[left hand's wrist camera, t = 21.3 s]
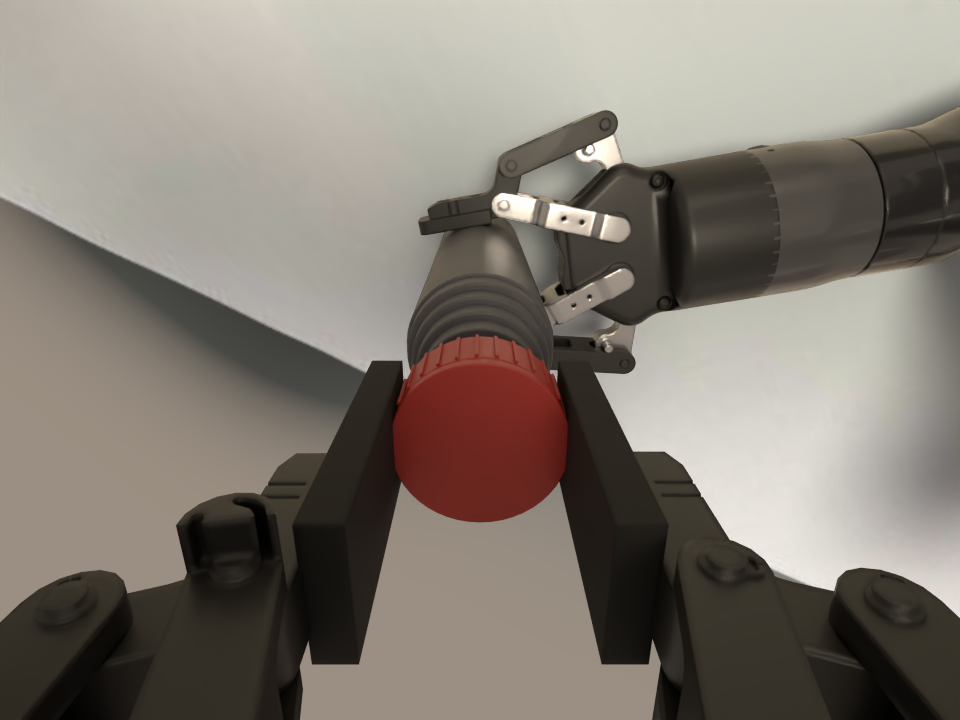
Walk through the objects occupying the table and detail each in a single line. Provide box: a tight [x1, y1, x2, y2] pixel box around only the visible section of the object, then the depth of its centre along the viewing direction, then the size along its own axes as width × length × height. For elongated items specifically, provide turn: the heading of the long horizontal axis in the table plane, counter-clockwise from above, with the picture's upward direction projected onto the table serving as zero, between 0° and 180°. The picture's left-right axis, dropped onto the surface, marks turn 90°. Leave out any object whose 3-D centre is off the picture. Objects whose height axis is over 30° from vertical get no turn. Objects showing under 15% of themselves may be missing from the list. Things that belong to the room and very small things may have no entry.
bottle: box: [407, 218, 554, 372], centre depth 25 cm, size 5×5×24 cm
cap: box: [393, 335, 568, 522], centre depth 14 cm, size 4×4×2 cm
